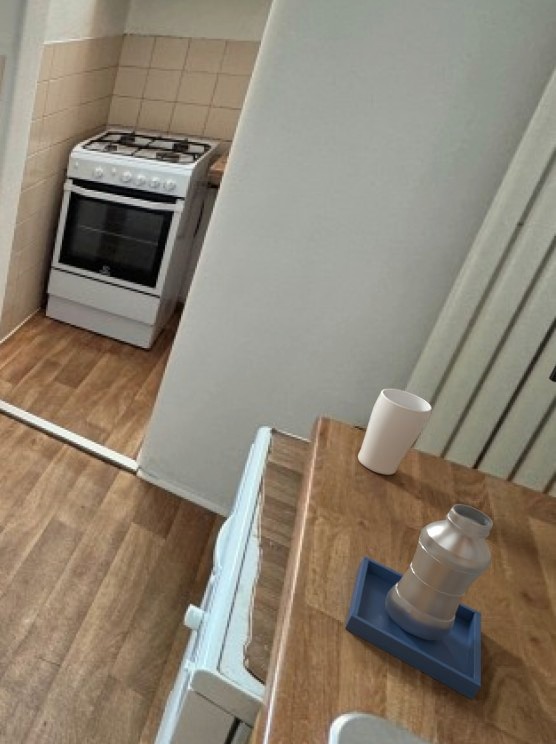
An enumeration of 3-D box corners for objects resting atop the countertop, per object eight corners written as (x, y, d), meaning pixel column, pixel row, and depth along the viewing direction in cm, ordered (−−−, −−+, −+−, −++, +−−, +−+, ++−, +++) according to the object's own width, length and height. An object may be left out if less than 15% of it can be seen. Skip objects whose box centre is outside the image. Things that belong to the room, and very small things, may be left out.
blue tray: (358, 567, 91) (364, 555, 90) (473, 625, 83) (481, 612, 82) (344, 628, 82) (351, 615, 81) (472, 700, 74) (480, 686, 73)
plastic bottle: (450, 630, 82) (516, 520, 74) (436, 658, 78) (504, 546, 71) (388, 593, 87) (444, 487, 79) (373, 618, 83) (430, 509, 76)
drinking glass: (342, 452, 114) (370, 387, 109) (378, 453, 114) (408, 388, 109) (372, 478, 108) (403, 411, 103) (410, 480, 108) (444, 412, 102)
